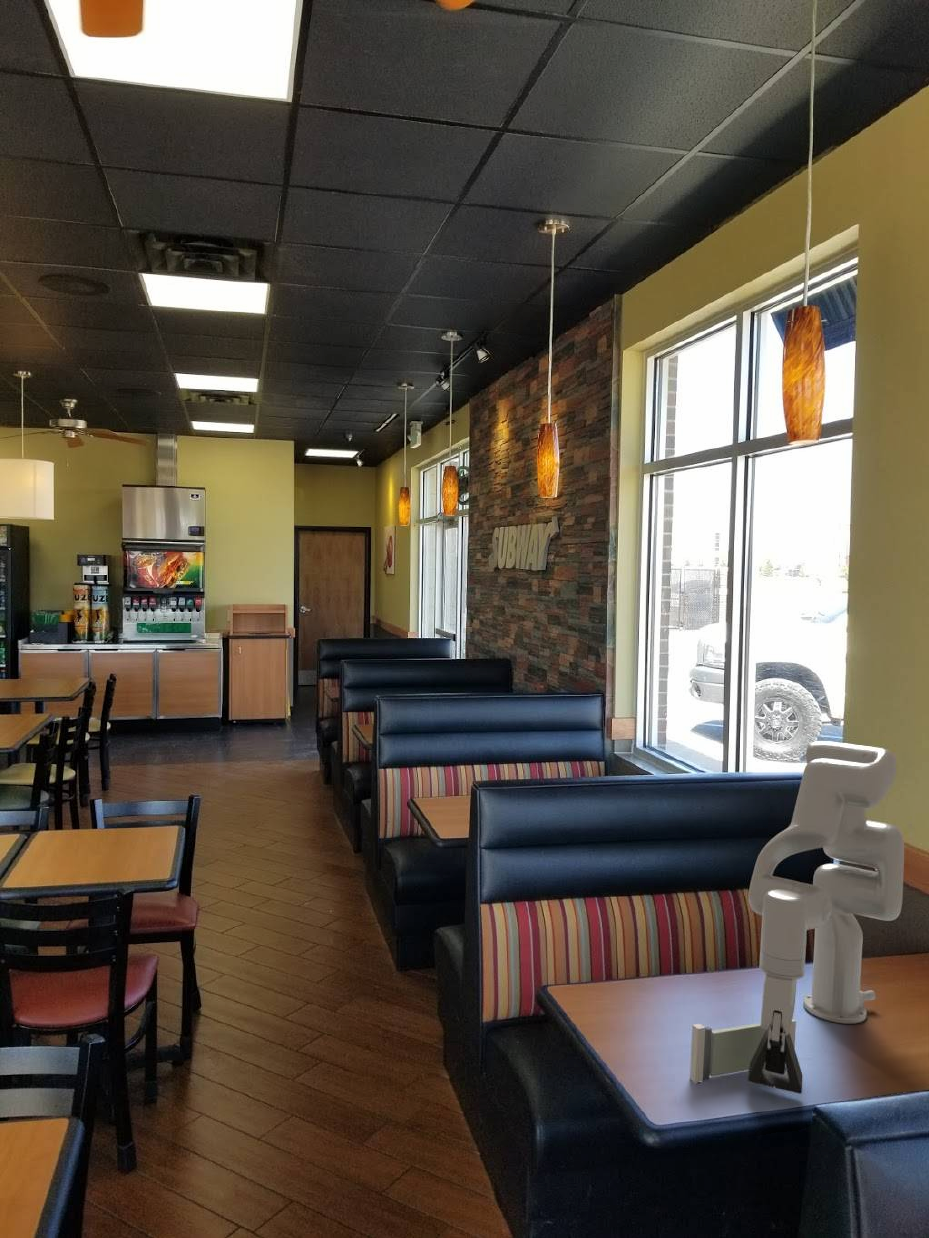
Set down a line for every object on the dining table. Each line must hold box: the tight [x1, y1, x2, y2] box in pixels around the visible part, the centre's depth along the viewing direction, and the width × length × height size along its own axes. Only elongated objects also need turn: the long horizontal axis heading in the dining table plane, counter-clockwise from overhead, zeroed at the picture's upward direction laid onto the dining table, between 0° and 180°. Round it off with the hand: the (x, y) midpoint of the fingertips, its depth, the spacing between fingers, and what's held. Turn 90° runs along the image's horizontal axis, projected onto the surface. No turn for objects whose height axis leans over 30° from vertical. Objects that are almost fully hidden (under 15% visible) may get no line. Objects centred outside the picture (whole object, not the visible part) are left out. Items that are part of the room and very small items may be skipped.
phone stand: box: [747, 1016, 803, 1094], centre depth 158 cm, size 9×6×12 cm, turn 68°
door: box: [703, 1022, 766, 1080], centre depth 165 cm, size 16×1×9 cm, turn 111°
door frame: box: [689, 1018, 797, 1084], centre depth 165 cm, size 22×2×10 cm, turn 111°
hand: (776, 1062), depth 158 cm, fingers closed on phone stand, 6 cm apart
